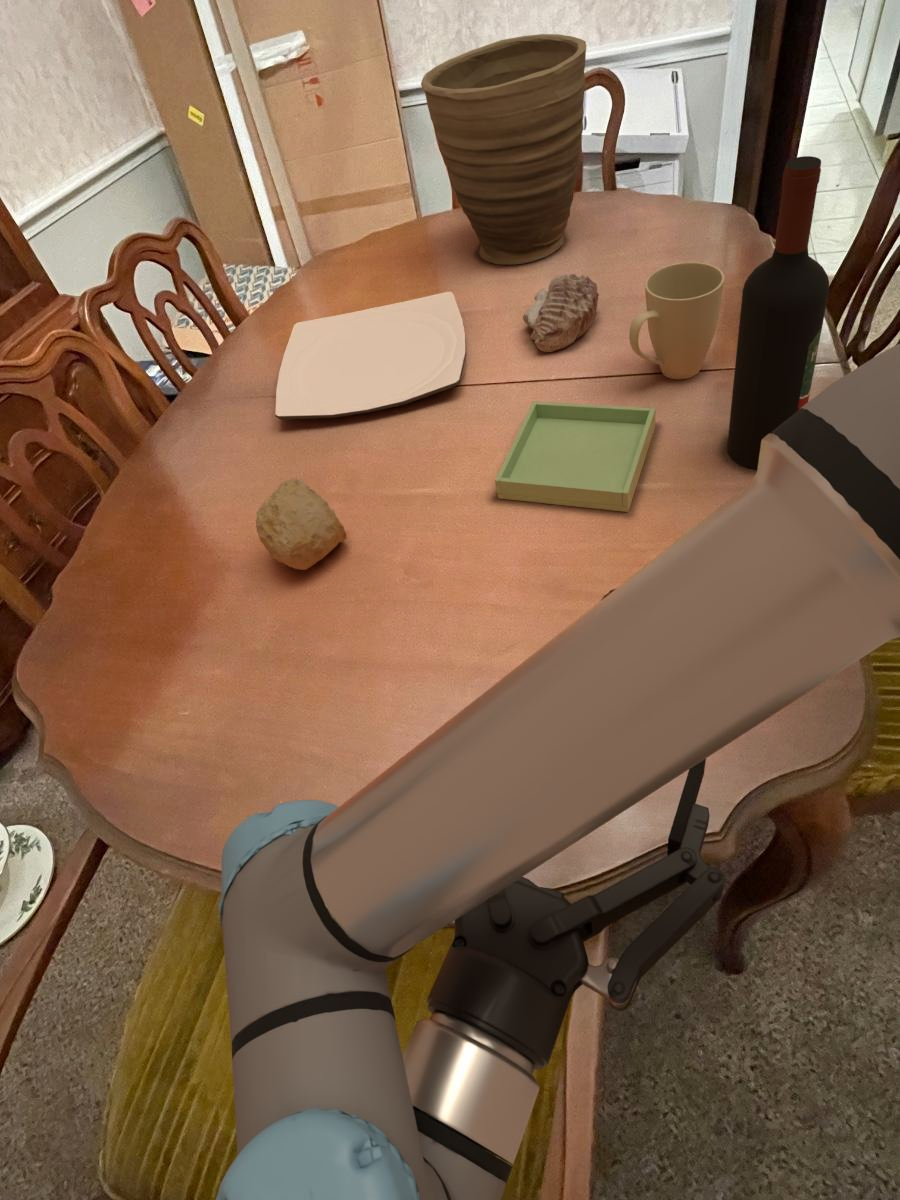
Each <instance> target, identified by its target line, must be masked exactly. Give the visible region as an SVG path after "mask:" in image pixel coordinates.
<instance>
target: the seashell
mask: <svg viewBox="0 0 900 1200" xmlns="http://www.w3.org/2000/svg"><path fill="white" fill-rule="evenodd" d="M599 297H600V296H599V293H598V285H597V283H595V281H593V280H592V279H591V278H590V277H589V276H588V275H586V276H585V275H584V274H581V275H579V276H578V275H576V273H570V274H560V275H556V276H555V277H553V279H551V280H550V283H549V286H548V290H546V289H544V288H541V289H539V291H537V292H536V294H535V295H534V298H533V299H534V300H535V302H534V303H533V304H532V305H530V306H529V307H528V309H527V310H526V311H525V312H524V313H523V316H522V320H523V321H524V323H525V324H526V325H527V326H528V327H529V328H530V329H532V333H531V334H530V337H529V339H530V340H532V341H534V342H533V344H534V345H535V346H536V347H537V349H538V350H539V351H540V352H541V351H542V352H544V353H553V352H555V351H557V350H561V349H564V348H566V347H568V346H569V345H572V344H574V343H575V341H576V339H578V338H580V337H581V336H583V335H584V334H585V333H586V331H588V329H589V328H590V327H591V325H593V322H594V319H596V315H597V309H598V308H597V307H598V303H599V302H598V301H599Z"/></svg>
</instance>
